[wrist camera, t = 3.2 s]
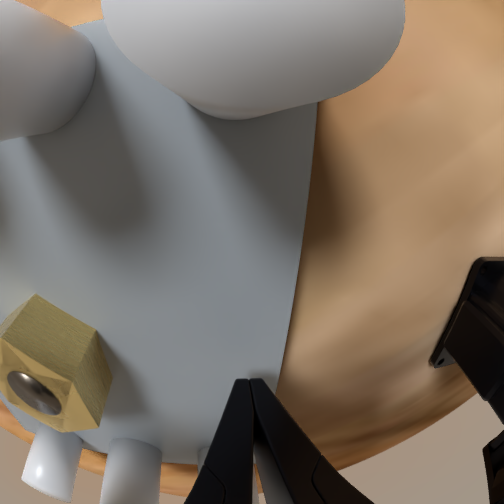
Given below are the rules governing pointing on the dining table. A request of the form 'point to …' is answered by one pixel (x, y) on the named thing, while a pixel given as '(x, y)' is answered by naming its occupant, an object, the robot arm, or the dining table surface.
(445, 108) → the dining table surface
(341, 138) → the dining table surface
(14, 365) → the nut
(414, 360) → the dining table surface
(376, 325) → the dining table surface
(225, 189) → the board
